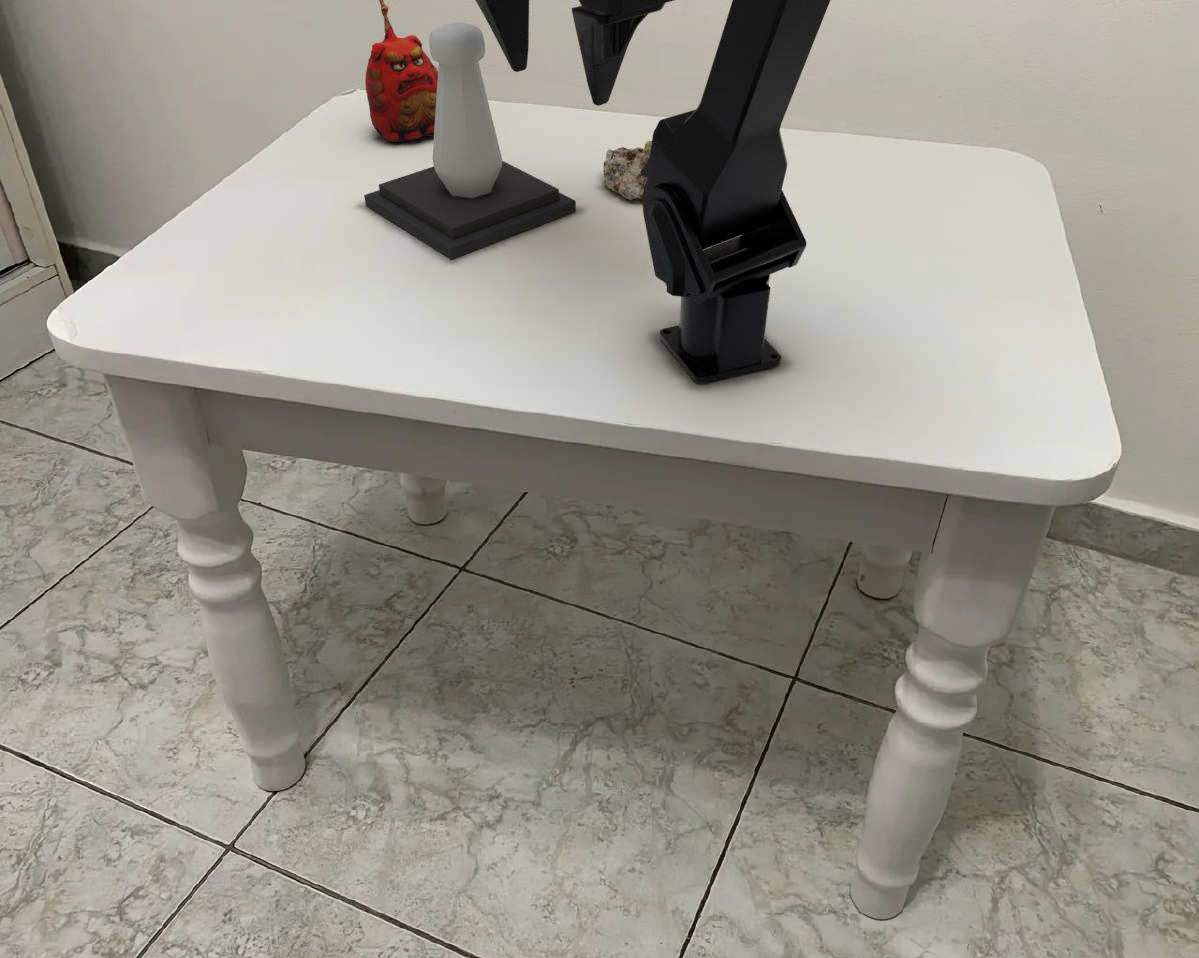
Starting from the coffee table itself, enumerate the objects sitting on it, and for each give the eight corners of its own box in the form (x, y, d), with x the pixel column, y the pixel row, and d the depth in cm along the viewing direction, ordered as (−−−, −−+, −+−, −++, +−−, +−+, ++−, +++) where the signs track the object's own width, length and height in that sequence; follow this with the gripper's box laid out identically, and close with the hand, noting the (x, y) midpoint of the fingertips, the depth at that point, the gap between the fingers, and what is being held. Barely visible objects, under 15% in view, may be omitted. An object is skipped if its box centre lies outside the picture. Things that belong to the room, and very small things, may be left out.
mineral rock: (586, 173, 87) (614, 117, 91) (589, 213, 90) (616, 156, 94) (707, 194, 84) (730, 135, 88) (705, 234, 88) (728, 175, 92)
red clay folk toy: (396, 152, 96) (373, -17, 86) (356, 131, 100) (330, -33, 90) (460, 131, 100) (445, -33, 90) (420, 112, 104) (401, -47, 94)
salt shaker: (434, 176, 87) (415, 17, 79) (499, 170, 88) (488, 13, 80) (438, 205, 83) (419, 41, 74) (507, 199, 84) (496, 36, 75)
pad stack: (576, 211, 86) (575, 189, 85) (451, 259, 80) (449, 236, 79) (486, 165, 94) (484, 144, 93) (365, 205, 87) (361, 183, 86)
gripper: (751, -163, 61) (729, 95, 71) (556, -195, 72) (562, 33, 82) (615, -142, 56) (613, 135, 66) (426, -179, 66) (449, 64, 76)
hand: (558, 86), depth 73 cm, fingers open, 9 cm apart
